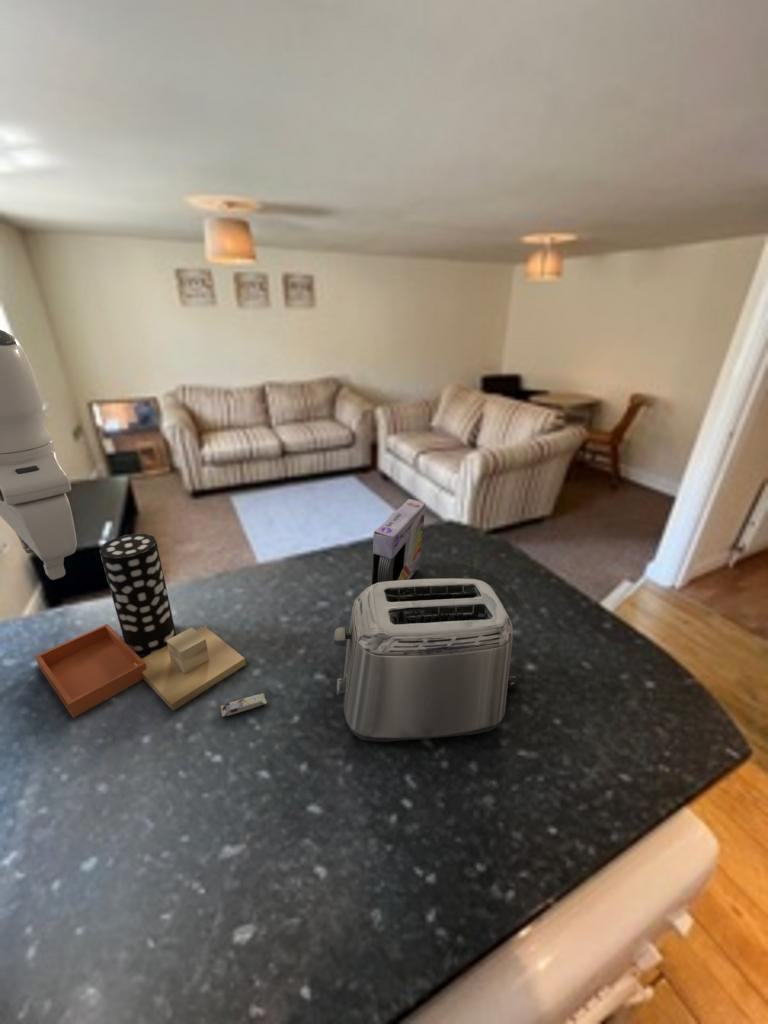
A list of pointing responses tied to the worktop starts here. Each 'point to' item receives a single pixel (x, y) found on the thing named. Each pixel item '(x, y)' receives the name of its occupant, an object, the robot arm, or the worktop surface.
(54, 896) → the worktop surface
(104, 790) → the worktop surface
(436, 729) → the toaster
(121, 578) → the white-spotted black cylinder
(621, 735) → the worktop surface
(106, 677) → the orange-brown tray
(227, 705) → the granola bar
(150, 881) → the worktop surface
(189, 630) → the block
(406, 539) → the cake pan box
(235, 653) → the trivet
